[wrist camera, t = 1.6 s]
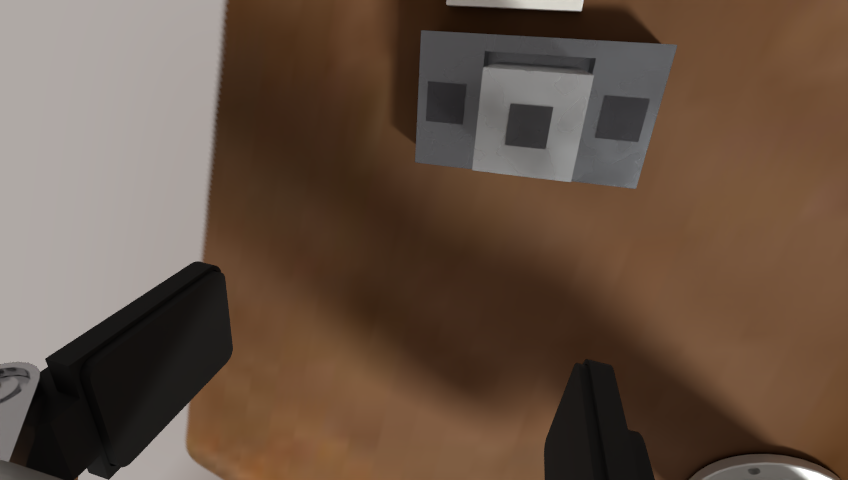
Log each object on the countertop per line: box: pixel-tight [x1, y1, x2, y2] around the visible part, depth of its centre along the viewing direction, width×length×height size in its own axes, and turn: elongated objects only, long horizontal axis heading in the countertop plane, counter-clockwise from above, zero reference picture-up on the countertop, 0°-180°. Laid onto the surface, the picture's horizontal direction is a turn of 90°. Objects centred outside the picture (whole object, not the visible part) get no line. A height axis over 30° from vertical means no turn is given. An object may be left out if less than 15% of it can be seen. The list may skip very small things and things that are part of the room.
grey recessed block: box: [415, 30, 677, 189], centre depth 26 cm, size 14×8×3 cm, turn 87°
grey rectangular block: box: [472, 61, 594, 182], centre depth 24 cm, size 5×5×8 cm
